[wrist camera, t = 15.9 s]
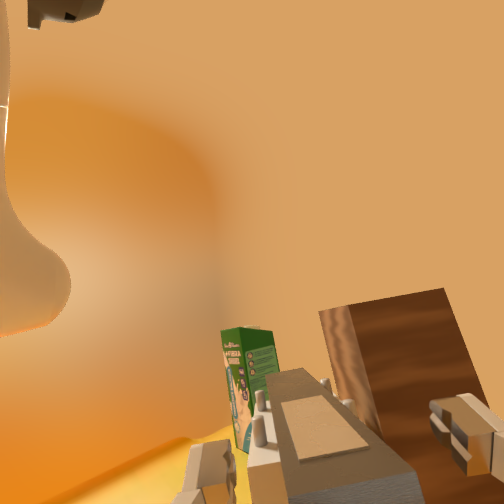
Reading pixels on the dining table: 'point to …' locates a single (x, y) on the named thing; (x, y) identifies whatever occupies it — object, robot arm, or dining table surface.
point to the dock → (271, 452)
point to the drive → (332, 449)
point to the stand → (408, 383)
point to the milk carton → (247, 374)
